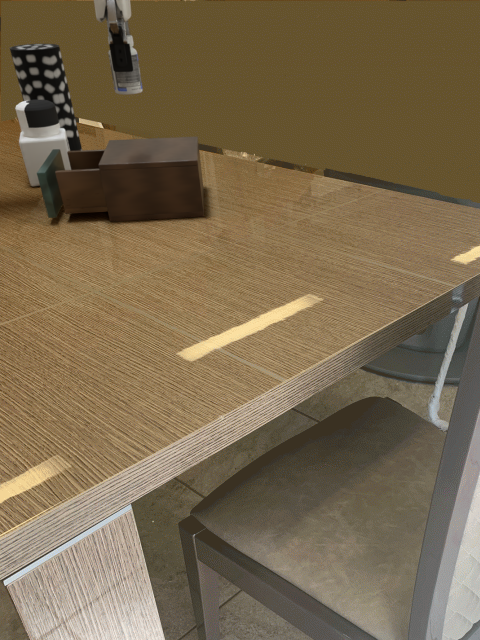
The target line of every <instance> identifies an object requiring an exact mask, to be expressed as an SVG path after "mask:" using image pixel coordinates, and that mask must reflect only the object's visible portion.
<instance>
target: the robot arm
mask: <svg viewBox="0 0 480 640" xmlns="http://www.w3.org/2000/svg"><path fill="white" fill-rule="evenodd" d="M93 5H94V12H95V18H96V21H98V22H99V23H103V22H104V21H105V20H106V27H107V35H108V37H109V41H110V44H109V43H108V46H109V50H110V53H111V59H112V64H113V70H114V71H115V72H132V71H133V63H132V56H131V50H130V44H128V42H127V35H131V30H130V24H129V20H130V18H131V17H132V6H131V0H93Z"/></svg>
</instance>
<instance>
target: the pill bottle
mask: <svg viewBox="0 0 480 640" xmlns="http://www.w3.org/2000/svg"><path fill="white" fill-rule="evenodd" d="M107 42H108V45H109V44H110V41H109V36H107ZM127 42H128V44H130V50H131V56H132V63H133V71H132V72H115V71H114V70H113V64H112V59H111V53H110V49H109V50H108V53H107V55H108V59H109V66H110V73H111V77H112V83H113V88H114V92H115V93H116V94H118V95H123V96H125V95H126V96H127V95H135V94H137V95H138V94H141V93H142V92H143V83H142V75H141V70H140V69H141V68H140V62H139V56H138V55H139V54H138V51H137V49H135V48H134V46H135V43H134V38H133V35H131V34H130V35H127Z"/></svg>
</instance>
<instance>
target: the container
mask: <svg viewBox="0 0 480 640" xmlns="http://www.w3.org/2000/svg"><path fill="white" fill-rule="evenodd" d="M14 110H15V111H16V112H15V113H16V116H17V120H18V124H19V127H20V133H19V139H18V145H19V148H20V152H21V155H22V159H23V163H24V167H25V170H26V173H27V177H28V180H29V184H30V186H31V187H40V184H39V180H38V176H37V172H38V170H39V169H40V167H41V166H42V165H43V163H44V162H45V160H46V159H47V157H48V156H49V154H50V153H51V151H52V150H53V149H60V151H61V155H62V159H63V164H64V168H65V170H71V167H70V162H69V158H68V154H67V152H68V151H70V148H69V144H68V139H67V135H66V131H65V129H64V128H60V124H59V119H58V115H57V111H56V107H55V104H54V103H53V102H50V101H48V100H28V101H23V100H22V101H21V102H19V103H18V104H16V105H15V108H14Z"/></svg>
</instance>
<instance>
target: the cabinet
mask: <svg viewBox="0 0 480 640" xmlns="http://www.w3.org/2000/svg"><path fill="white" fill-rule="evenodd" d="M199 145H200V144H199V137H198V136H179V137H155V138H154V137H153V138H132V139H131V138H130V139H109V140H108V142H107V144H106V146H105V151H104V153H103V156H102V158H101V160H100V163H99V165H98V166H99V170H100V175H101V180H102V185H103V190H104V195H105V199H106V204H107V209H108V211H107V213H108V219H109V222H112V223H115V222H131V221H148V220H150V221H151V220H167V219H183V218H186V219H187V218H200V217H201V218H203V217H205V204H204V203H205V197H204V196H205V195H204V192H205V191H204V181H203V170H202V162H201V161H202V160H201V154H200V146H199Z"/></svg>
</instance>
